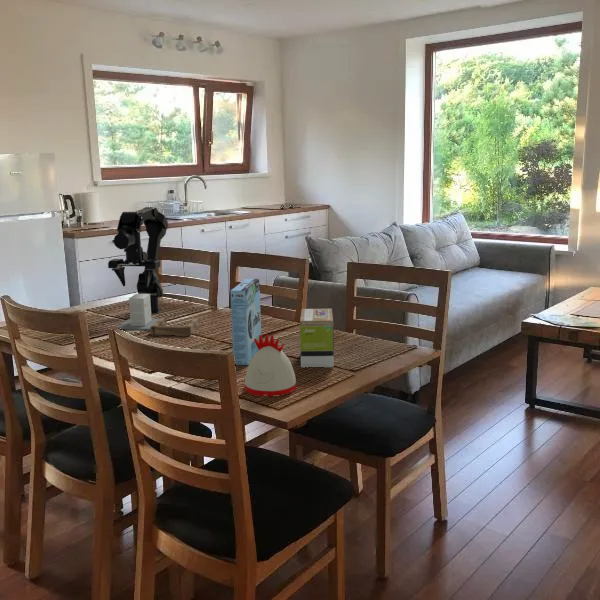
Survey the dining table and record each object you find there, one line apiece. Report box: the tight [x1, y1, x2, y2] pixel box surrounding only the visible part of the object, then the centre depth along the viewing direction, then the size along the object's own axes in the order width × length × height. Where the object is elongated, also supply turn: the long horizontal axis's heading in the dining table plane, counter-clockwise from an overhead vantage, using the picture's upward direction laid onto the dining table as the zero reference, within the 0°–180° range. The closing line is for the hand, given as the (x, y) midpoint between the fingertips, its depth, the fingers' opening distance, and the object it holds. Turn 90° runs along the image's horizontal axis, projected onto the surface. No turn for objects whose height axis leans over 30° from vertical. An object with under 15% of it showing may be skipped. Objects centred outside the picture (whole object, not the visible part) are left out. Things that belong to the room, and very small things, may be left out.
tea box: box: [299, 308, 335, 369], centre depth 202 cm, size 15×10×15 cm
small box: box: [128, 293, 152, 326], centre depth 246 cm, size 8×6×10 cm
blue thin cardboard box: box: [229, 278, 262, 366], centre depth 206 cm, size 20×5×23 cm, turn 171°
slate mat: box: [116, 318, 161, 331], centre depth 247 cm, size 14×14×1 cm
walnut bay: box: [150, 316, 201, 337], centre depth 239 cm, size 14×14×3 cm
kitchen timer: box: [244, 333, 297, 397], centre depth 179 cm, size 14×14×15 cm
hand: (135, 286), depth 252 cm, fingers open, 9 cm apart
